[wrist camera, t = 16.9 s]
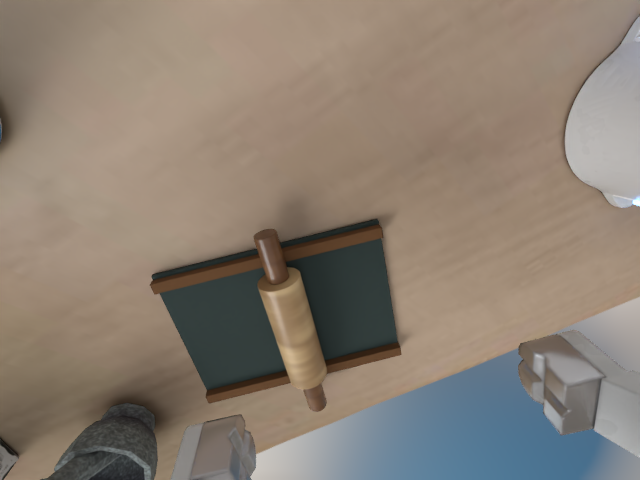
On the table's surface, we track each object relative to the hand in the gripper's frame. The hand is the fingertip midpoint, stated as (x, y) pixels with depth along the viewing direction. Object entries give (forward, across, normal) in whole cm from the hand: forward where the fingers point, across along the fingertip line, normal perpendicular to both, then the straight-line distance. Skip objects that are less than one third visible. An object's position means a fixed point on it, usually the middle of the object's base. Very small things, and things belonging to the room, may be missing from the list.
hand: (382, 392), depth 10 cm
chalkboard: (+26, +7, +15) cm, 31 cm away
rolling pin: (+26, +6, +15) cm, 31 cm away
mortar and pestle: (+26, +30, +24) cm, 46 cm away
